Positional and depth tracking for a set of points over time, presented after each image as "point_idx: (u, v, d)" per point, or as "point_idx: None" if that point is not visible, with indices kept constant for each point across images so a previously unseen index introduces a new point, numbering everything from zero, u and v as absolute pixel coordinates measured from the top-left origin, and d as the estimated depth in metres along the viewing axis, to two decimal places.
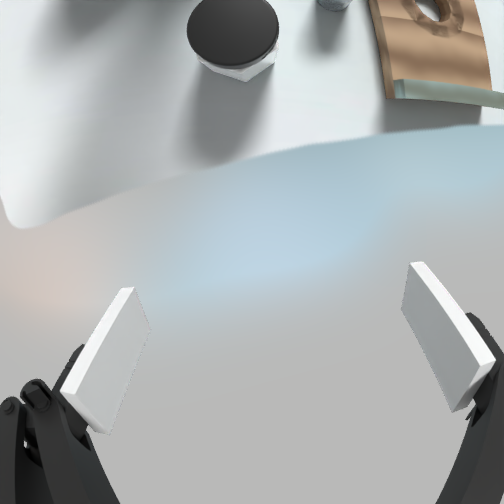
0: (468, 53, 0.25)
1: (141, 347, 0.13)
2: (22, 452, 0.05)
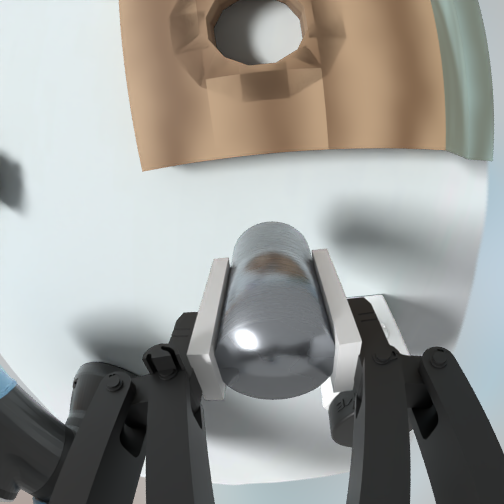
0: None
1: None
2: (117, 439, 0.07)
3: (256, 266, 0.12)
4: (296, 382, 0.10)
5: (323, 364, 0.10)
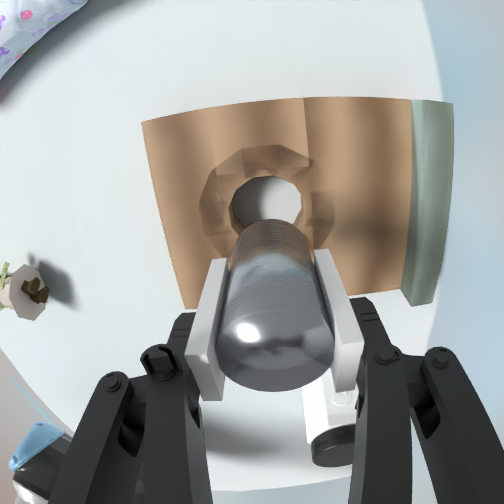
0: (352, 149, 0.21)
1: None
2: (115, 439, 0.07)
3: (256, 261, 0.12)
4: (296, 374, 0.11)
5: (321, 356, 0.10)
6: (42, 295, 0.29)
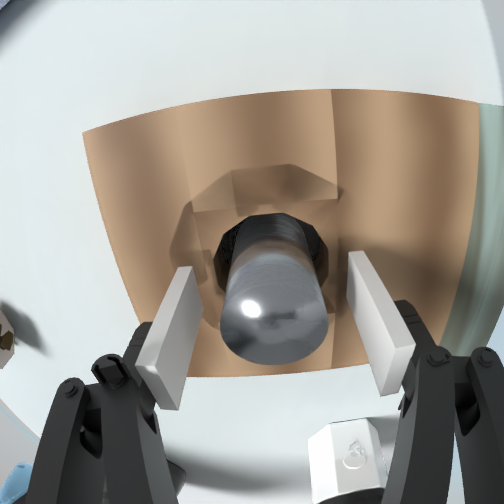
0: (402, 173, 0.13)
1: (197, 325, 0.14)
2: (76, 440, 0.06)
3: (257, 245, 0.14)
4: (293, 347, 0.12)
5: (316, 329, 0.12)
6: (5, 341, 0.21)
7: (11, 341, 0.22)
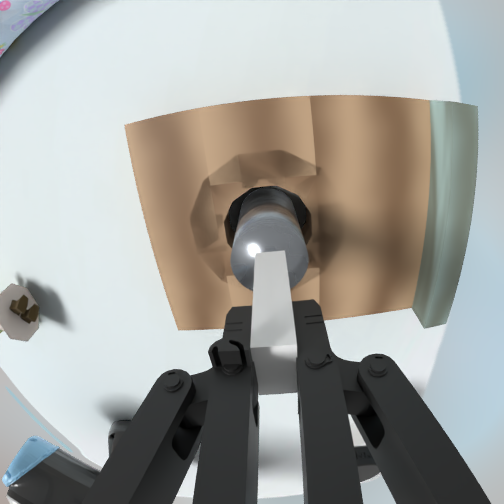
0: (365, 156, 0.18)
1: None
2: (169, 442, 0.07)
3: (256, 207, 0.19)
4: None
5: (299, 262, 0.17)
6: (31, 313, 0.26)
7: (37, 313, 0.27)
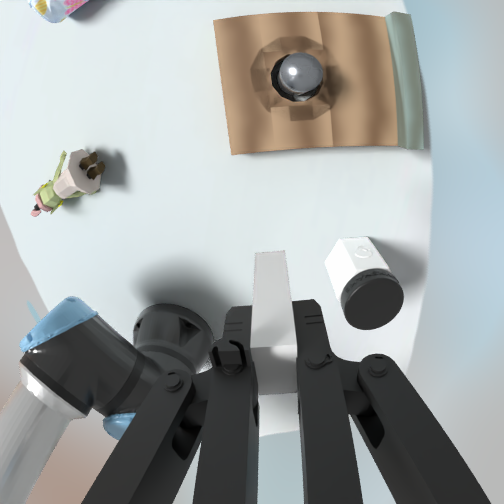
0: (350, 42, 0.28)
1: None
2: (169, 443, 0.07)
3: None
4: (310, 80, 0.26)
5: (318, 72, 0.26)
6: (99, 166, 0.36)
7: (103, 169, 0.37)
